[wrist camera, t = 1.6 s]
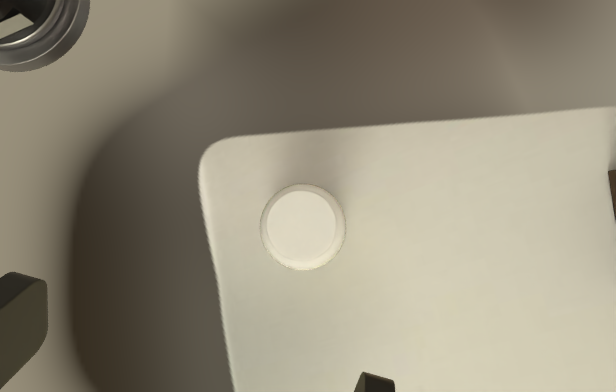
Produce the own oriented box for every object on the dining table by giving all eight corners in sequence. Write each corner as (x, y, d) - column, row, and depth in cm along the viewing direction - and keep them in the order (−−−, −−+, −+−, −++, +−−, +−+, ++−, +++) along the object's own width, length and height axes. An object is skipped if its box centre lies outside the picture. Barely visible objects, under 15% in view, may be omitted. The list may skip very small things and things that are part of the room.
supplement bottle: (354, 219, 33) (369, 213, 24) (315, 277, 33) (314, 296, 23) (296, 180, 34) (288, 158, 24) (257, 237, 33) (233, 239, 24)
